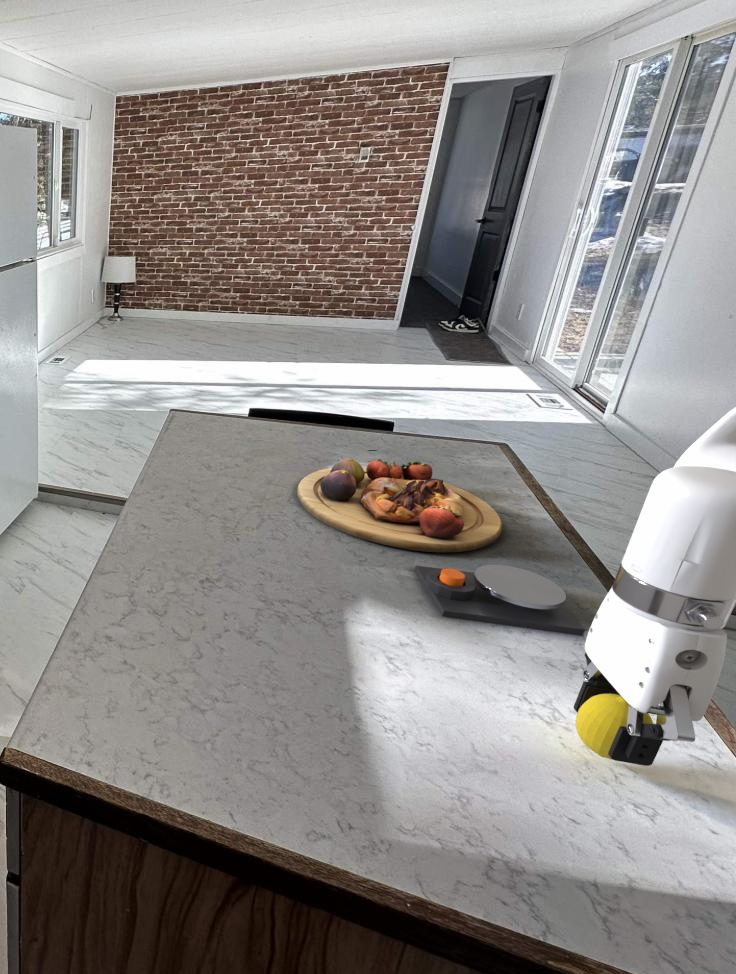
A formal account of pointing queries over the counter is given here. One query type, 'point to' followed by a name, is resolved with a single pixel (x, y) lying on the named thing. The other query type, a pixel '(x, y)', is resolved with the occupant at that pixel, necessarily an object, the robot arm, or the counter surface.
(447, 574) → the tare button
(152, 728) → the counter surface
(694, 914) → the counter surface
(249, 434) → the counter surface
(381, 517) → the wooden plate
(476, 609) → the scale
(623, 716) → the lemon
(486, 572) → the scale pan
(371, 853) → the counter surface
